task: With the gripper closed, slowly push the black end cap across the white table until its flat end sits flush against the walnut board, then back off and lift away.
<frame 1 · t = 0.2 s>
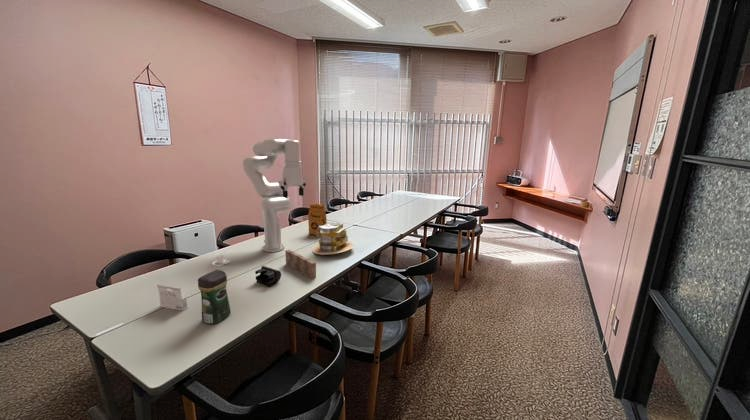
hand: (293, 196, 165), 37 cm above the table, tool pointing down, fingers open, 9 cm apart
walnut board: (300, 270, 161), on the table
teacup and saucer: (219, 266, 164), on the table
end cap: (268, 282, 148), on the table
coffee package: (318, 234, 219), on the table
coffee jar: (216, 318, 119), on the table
stacked tins on plate: (333, 250, 190), on the table
ink cartridge box: (174, 307, 125), on the table
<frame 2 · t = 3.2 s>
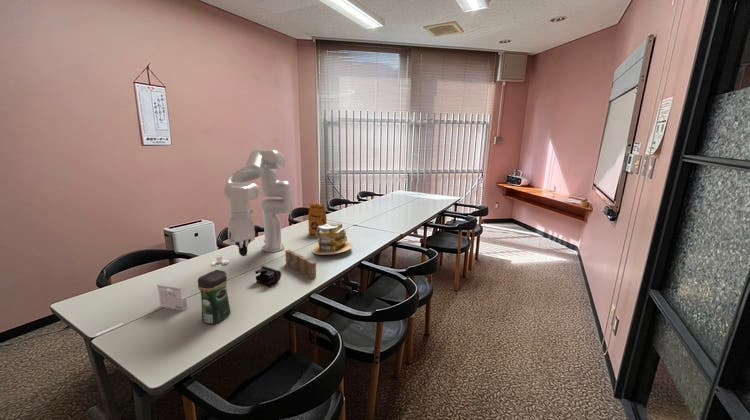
hand: (243, 255, 136), 17 cm above the table, tool pointing down, fingers closed
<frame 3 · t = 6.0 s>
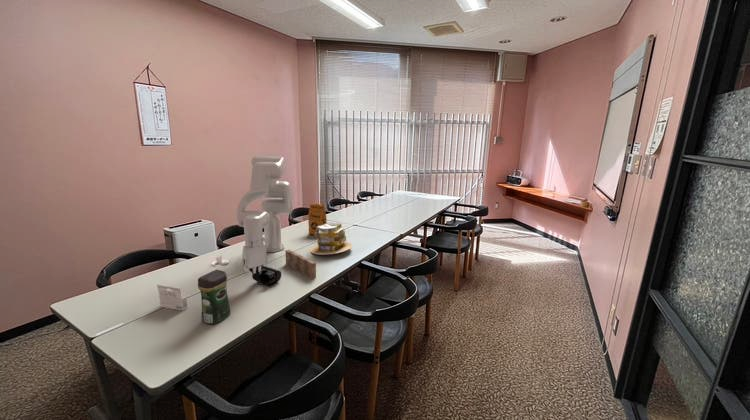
hand: (256, 279, 143), 3 cm above the table, tool pointing down, fingers closed
end cap: (268, 282, 148), on the table, touching gripper
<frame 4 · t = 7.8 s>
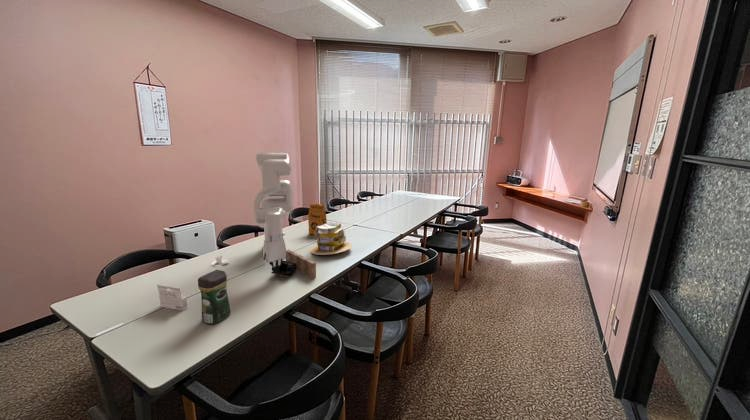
hand: (275, 273, 150), 3 cm above the table, tool pointing down, fingers closed
end cap: (282, 275, 154), point 1 cm above the table, touching gripper
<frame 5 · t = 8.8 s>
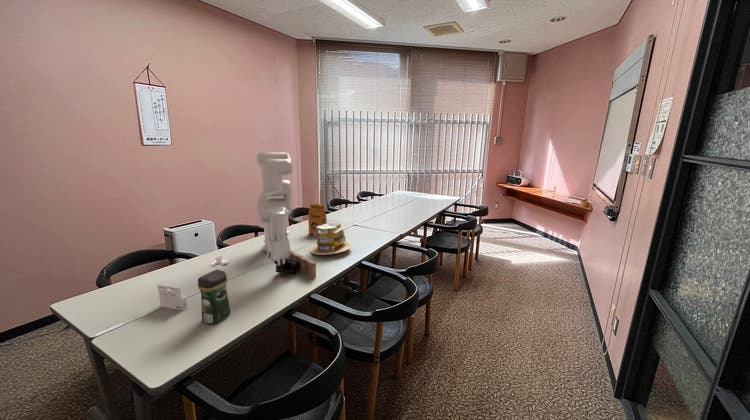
hand: (280, 271, 152), 3 cm above the table, tool pointing down, fingers closed
end cap: (286, 273, 156), point 1 cm above the table, touching gripper
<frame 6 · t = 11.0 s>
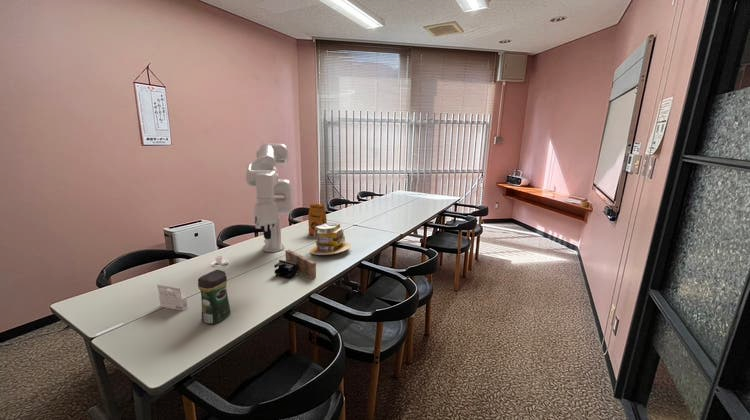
hand: (267, 238, 145), 21 cm above the table, tool pointing down, fingers closed
end cap: (286, 275, 156), on the table
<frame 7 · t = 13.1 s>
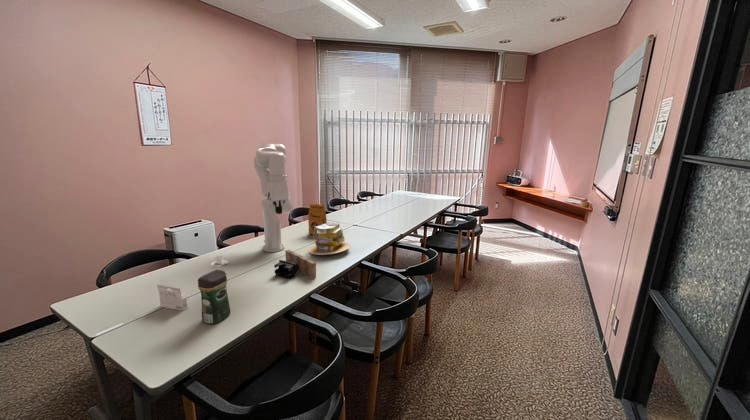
hand: (278, 213, 159), 29 cm above the table, tool pointing down, fingers closed
at the end: end cap inside the target area on the table beside the walnut board (1.7 cm from its centre), on the table; end cap tilted 0° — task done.
